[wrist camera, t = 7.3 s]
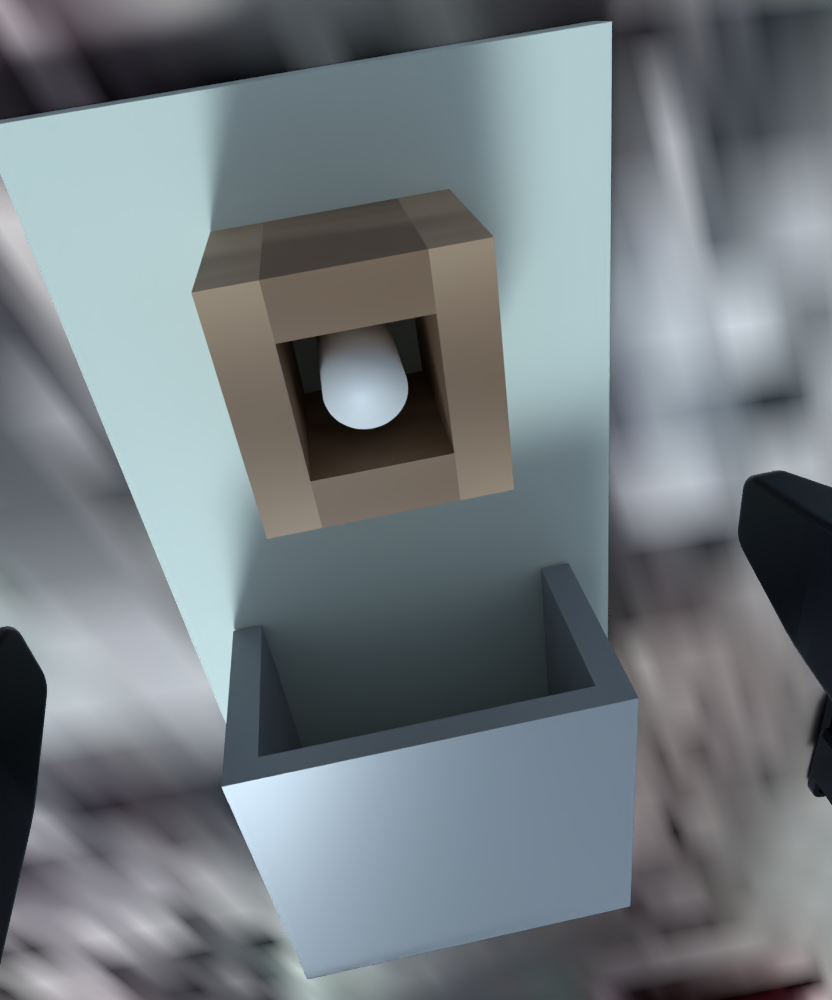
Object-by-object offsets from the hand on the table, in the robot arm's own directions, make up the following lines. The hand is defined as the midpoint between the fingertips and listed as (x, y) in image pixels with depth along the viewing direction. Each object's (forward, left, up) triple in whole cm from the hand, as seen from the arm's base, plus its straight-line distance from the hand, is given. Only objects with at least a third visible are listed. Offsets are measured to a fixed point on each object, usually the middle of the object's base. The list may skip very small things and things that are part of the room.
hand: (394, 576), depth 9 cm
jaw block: (0, 0, -9) cm, 9 cm away
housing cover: (0, +13, -9) cm, 16 cm away
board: (0, +6, -10) cm, 12 cm away
